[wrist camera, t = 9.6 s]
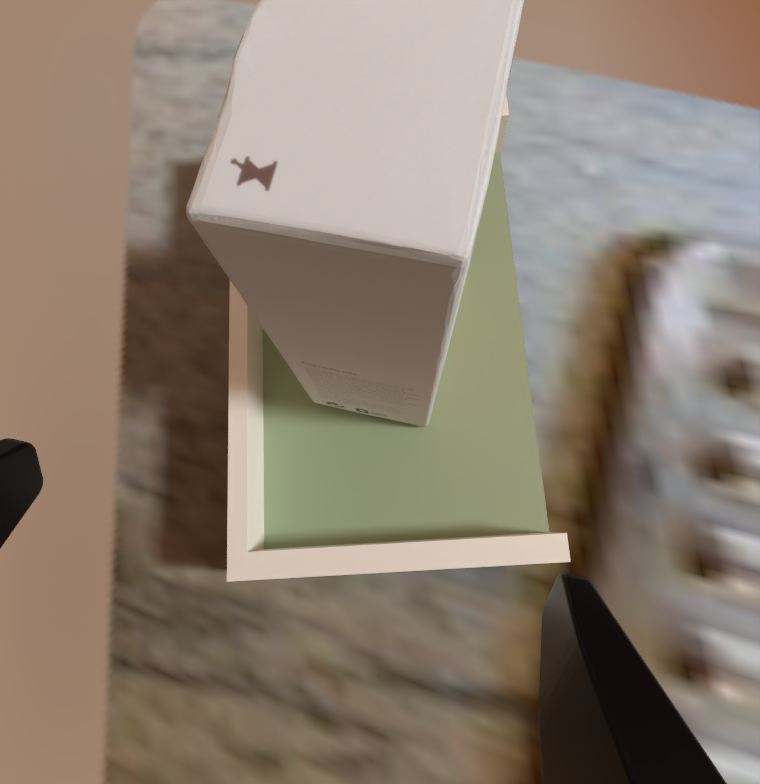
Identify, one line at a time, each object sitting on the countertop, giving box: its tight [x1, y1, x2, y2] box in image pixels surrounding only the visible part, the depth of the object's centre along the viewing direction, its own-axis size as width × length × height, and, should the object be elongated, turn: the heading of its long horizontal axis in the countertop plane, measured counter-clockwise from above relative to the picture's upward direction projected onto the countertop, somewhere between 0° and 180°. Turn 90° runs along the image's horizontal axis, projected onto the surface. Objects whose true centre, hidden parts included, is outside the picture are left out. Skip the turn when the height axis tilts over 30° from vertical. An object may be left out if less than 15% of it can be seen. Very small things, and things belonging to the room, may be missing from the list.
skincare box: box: [186, 0, 524, 427], centre depth 14 cm, size 6×4×12 cm
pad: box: [227, 96, 571, 582], centre depth 19 cm, size 16×10×3 cm, turn 3°
